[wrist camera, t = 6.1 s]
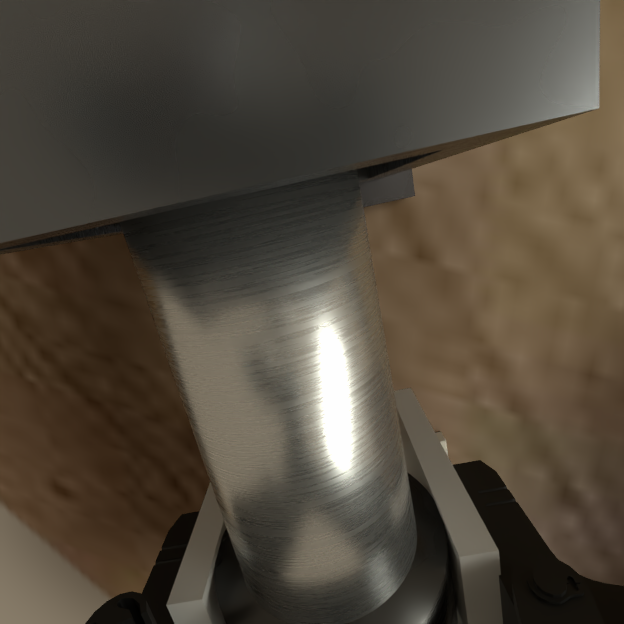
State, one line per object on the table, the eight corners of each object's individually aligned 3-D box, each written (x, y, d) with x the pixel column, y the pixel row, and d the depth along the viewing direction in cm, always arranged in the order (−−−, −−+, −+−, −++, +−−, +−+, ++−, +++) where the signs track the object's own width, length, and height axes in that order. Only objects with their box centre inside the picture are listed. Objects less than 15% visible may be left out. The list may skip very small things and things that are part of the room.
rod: (124, 118, 8) (-143, -3, 3) (350, 64, 8) (414, -154, 3) (285, 618, 13) (269, 881, 8) (434, 594, 13) (516, 851, 8)
